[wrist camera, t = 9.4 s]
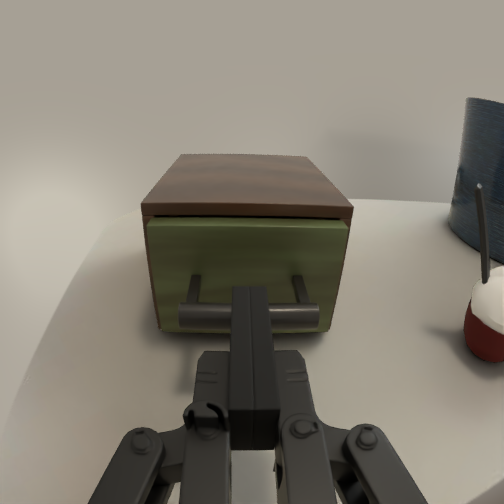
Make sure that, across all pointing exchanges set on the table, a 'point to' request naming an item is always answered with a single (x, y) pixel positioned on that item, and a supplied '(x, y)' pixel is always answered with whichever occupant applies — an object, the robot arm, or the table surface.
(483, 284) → the cocoa
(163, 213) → the cabinet
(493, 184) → the planter
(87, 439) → the table surface
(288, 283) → the drawer
